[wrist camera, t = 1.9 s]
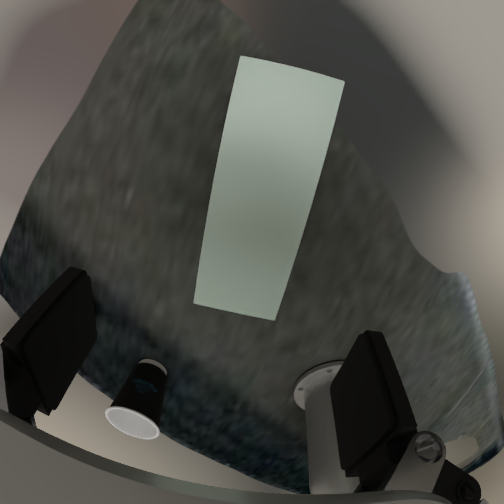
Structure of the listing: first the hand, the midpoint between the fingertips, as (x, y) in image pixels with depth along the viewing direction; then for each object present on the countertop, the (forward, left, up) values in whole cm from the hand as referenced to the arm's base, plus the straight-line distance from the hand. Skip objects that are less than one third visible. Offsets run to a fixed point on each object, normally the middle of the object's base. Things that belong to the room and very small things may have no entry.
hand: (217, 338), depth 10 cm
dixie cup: (+9, +31, -23) cm, 40 cm away
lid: (-1, -1, -16) cm, 16 cm away
